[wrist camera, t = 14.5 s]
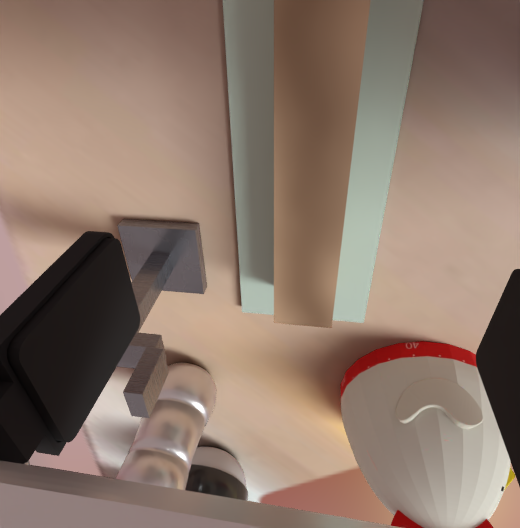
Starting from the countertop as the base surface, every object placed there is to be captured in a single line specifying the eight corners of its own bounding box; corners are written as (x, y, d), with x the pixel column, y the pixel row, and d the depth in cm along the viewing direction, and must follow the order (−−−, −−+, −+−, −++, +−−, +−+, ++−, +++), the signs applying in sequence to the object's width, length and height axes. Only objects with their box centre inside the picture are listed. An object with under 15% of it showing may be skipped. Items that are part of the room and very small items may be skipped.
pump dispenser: (188, 477, 53) (145, 624, 41) (163, 433, 47) (104, 589, 35) (260, 481, 51) (238, 638, 39) (243, 435, 45) (210, 603, 33)
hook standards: (156, -240, 16) (-205, -700, 5) (215, 286, 32) (156, 439, 22) (-4, -223, 17) (-586, -582, 6) (131, 280, 33) (34, 422, 23)
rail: (389, -232, 15) (405, -291, 12) (331, 291, 30) (331, 328, 27) (285, -222, 15) (273, -275, 12) (279, 287, 31) (273, 322, 27)
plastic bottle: (146, 363, 40) (20, 619, 24) (196, 346, 37) (93, 622, 21) (184, 400, 43) (95, 651, 27) (234, 386, 40) (168, 657, 24)
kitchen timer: (482, 439, 39) (549, 643, 27) (341, 431, 42) (345, 612, 30) (514, 341, 31) (629, 567, 19) (339, 339, 34) (342, 535, 22)
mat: (488, -368, 13) (494, -381, 13) (363, 317, 32) (363, 322, 31) (205, -330, 15) (201, -341, 14) (243, 307, 33) (242, 312, 33)
